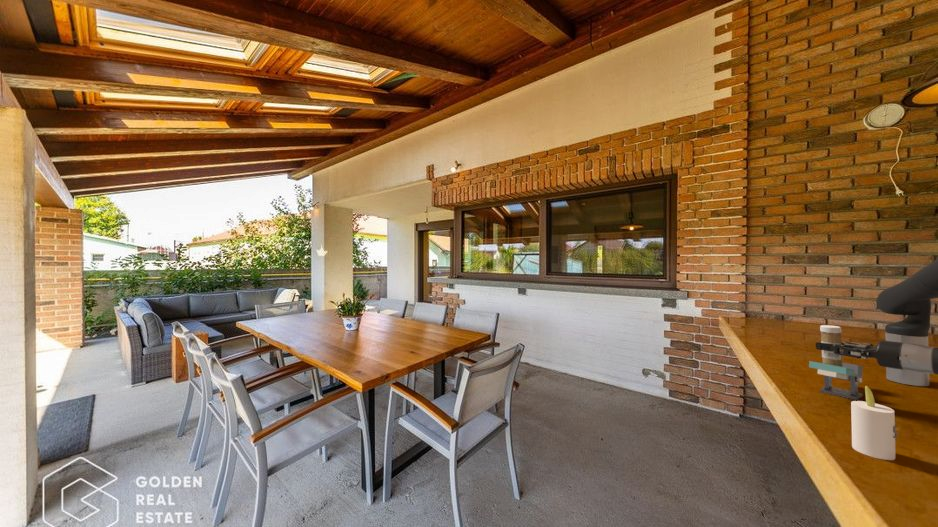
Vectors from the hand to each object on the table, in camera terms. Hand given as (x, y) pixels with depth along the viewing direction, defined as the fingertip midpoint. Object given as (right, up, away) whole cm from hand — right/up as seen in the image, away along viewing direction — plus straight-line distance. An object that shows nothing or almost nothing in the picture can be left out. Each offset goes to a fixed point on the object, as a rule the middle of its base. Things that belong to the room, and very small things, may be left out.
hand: (819, 344), depth 105 cm
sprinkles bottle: (+1, -7, -2) cm, 8 cm away
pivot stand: (+9, -17, +2) cm, 19 cm away
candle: (-20, -17, -30) cm, 41 cm away
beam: (+9, -12, +1) cm, 15 cm away
